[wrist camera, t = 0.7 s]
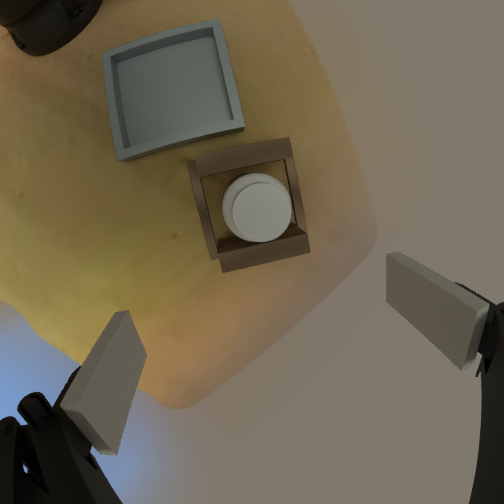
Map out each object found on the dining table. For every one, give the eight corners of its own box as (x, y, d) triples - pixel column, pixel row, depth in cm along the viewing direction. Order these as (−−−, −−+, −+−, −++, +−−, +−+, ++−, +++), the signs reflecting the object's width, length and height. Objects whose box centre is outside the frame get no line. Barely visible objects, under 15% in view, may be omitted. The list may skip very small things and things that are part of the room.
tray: (110, 61, 25) (101, 53, 22) (219, 30, 26) (220, 18, 23) (126, 161, 29) (117, 160, 26) (243, 130, 30) (245, 126, 27)
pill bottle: (281, 179, 32) (310, 183, 21) (269, 230, 33) (291, 258, 23) (228, 167, 31) (231, 164, 20) (217, 220, 33) (215, 243, 22)
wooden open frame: (187, 162, 30) (180, 160, 25) (288, 141, 31) (302, 135, 25) (211, 258, 34) (209, 276, 28) (306, 236, 34) (322, 249, 28)
